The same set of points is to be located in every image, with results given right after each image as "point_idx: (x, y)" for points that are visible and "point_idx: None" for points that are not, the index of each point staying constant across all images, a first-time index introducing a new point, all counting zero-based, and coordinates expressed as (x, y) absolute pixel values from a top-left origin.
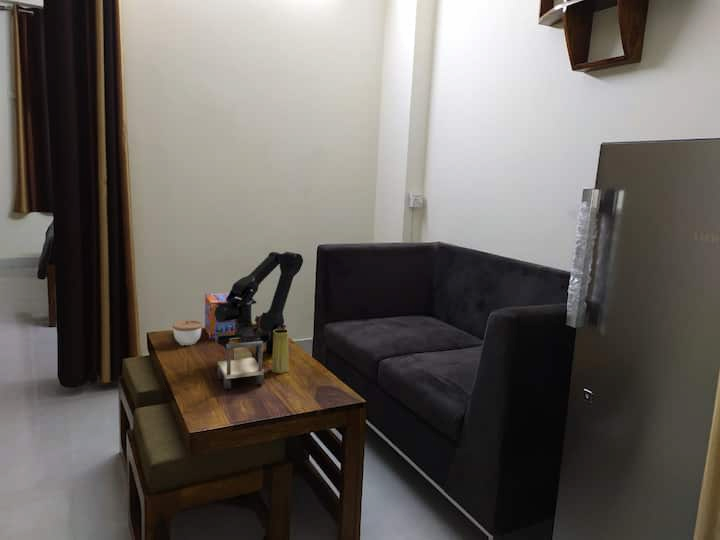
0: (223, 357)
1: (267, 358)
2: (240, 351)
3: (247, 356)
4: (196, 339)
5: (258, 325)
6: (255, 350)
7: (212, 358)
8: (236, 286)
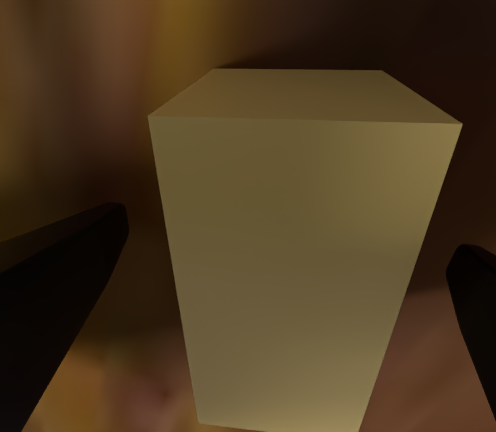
0: (392, 378)
1: (6, 211)
2: (333, 326)
3: (270, 106)
4: None
5: None
6: (65, 288)
7: None
8: None
